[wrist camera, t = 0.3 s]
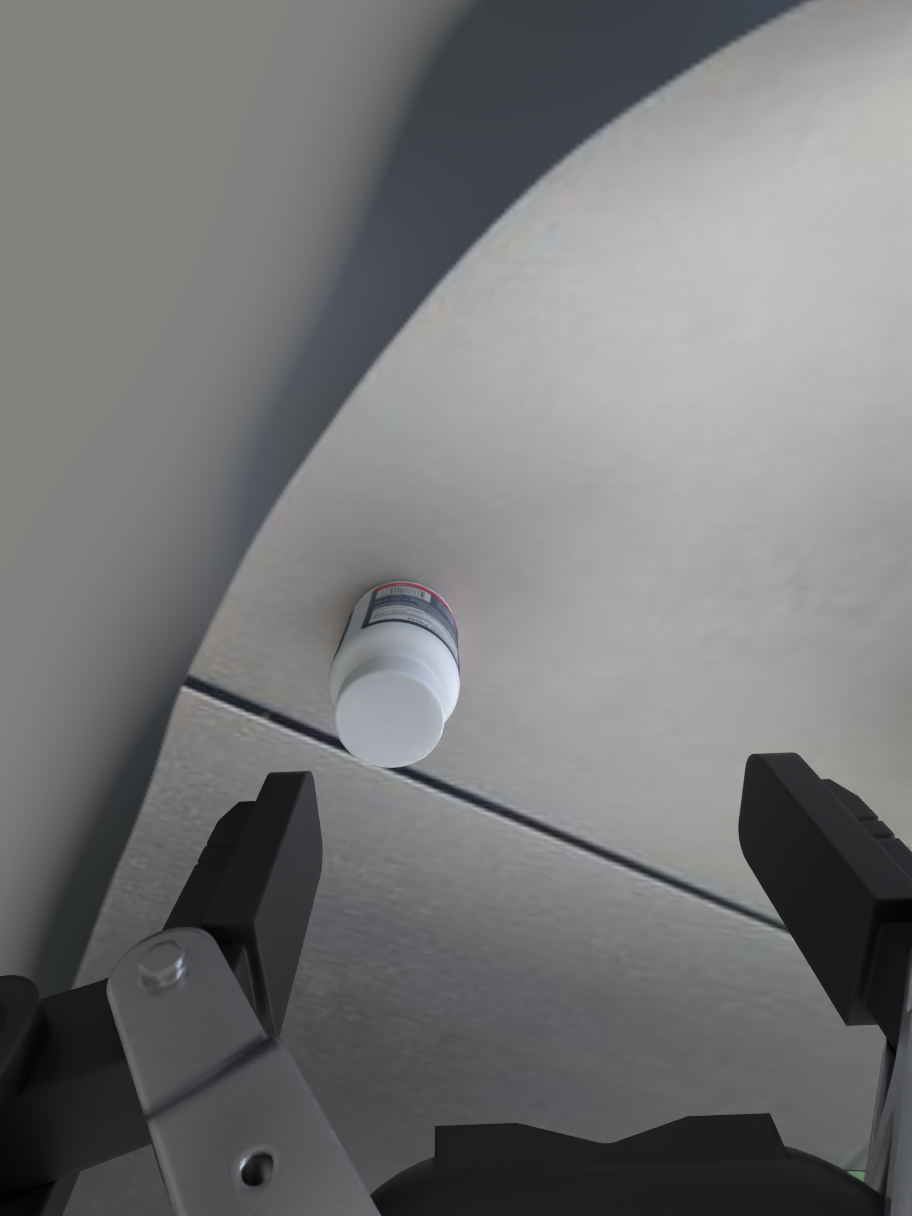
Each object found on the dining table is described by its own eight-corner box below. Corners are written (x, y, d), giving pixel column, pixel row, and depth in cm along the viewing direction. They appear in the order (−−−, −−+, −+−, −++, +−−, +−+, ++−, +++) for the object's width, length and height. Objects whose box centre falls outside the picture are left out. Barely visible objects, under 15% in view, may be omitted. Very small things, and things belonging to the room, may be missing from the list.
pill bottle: (401, 698, 33) (385, 810, 25) (326, 627, 32) (282, 720, 23) (480, 632, 32) (491, 726, 24) (405, 555, 31) (389, 626, 22)
